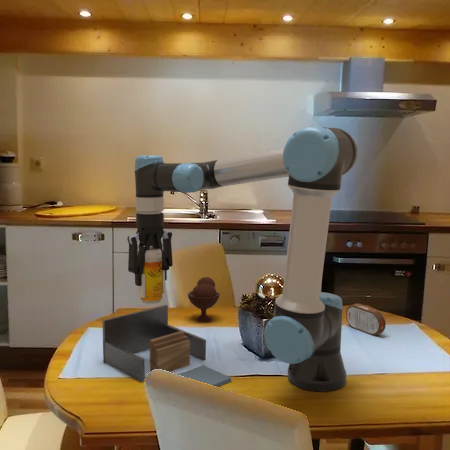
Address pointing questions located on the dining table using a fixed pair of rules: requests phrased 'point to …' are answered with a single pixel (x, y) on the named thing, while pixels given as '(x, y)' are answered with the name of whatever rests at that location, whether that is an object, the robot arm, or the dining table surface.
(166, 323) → the grey open frame
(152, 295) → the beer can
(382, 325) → the tin
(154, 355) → the offcuts
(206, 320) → the ice cream bowl
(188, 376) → the mat
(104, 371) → the dining table surface
